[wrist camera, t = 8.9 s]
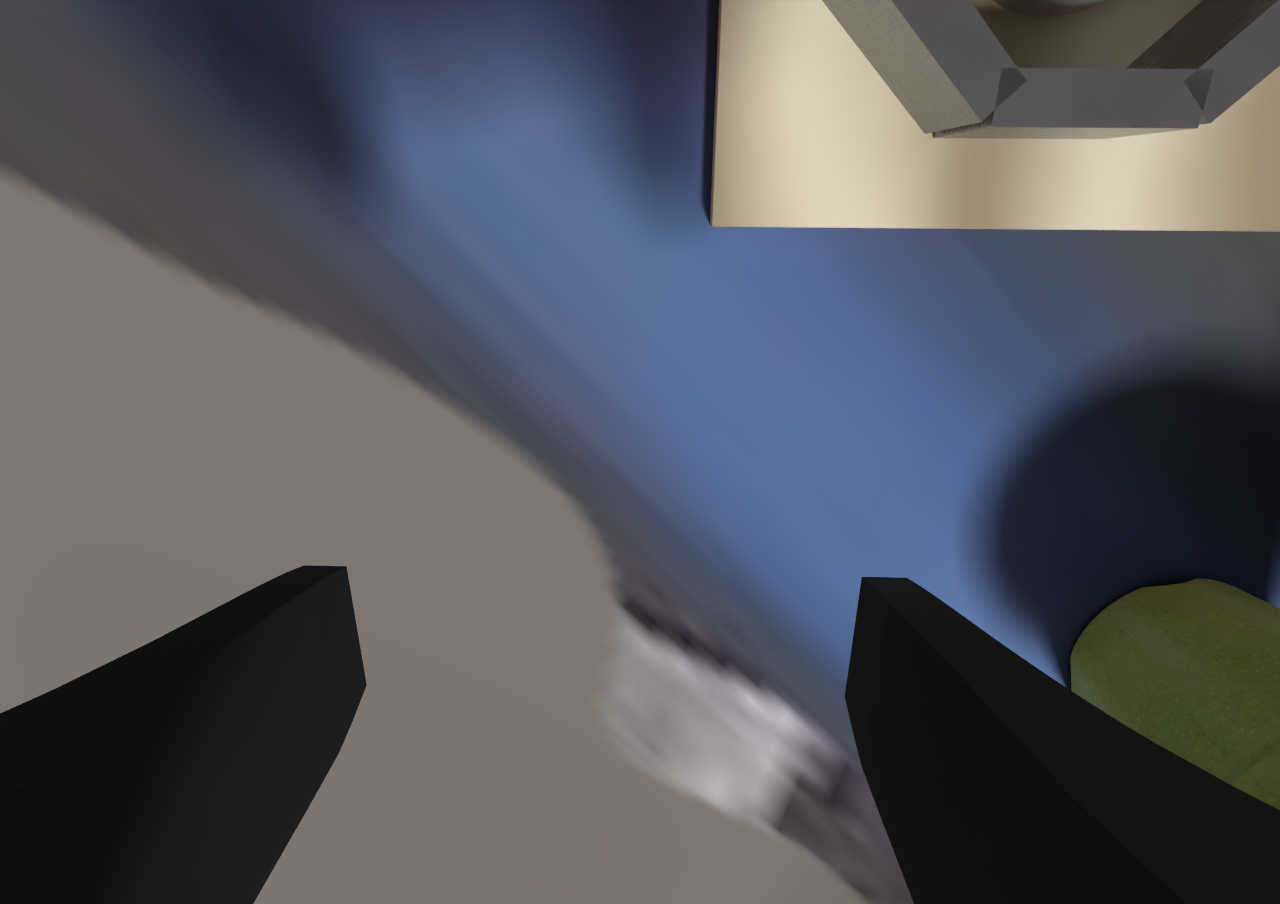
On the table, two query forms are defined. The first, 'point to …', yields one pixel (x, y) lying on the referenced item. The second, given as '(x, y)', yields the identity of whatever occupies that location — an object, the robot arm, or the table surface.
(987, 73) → the lens ring
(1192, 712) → the plant pot
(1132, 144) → the mount plate
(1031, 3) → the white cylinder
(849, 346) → the table surface
